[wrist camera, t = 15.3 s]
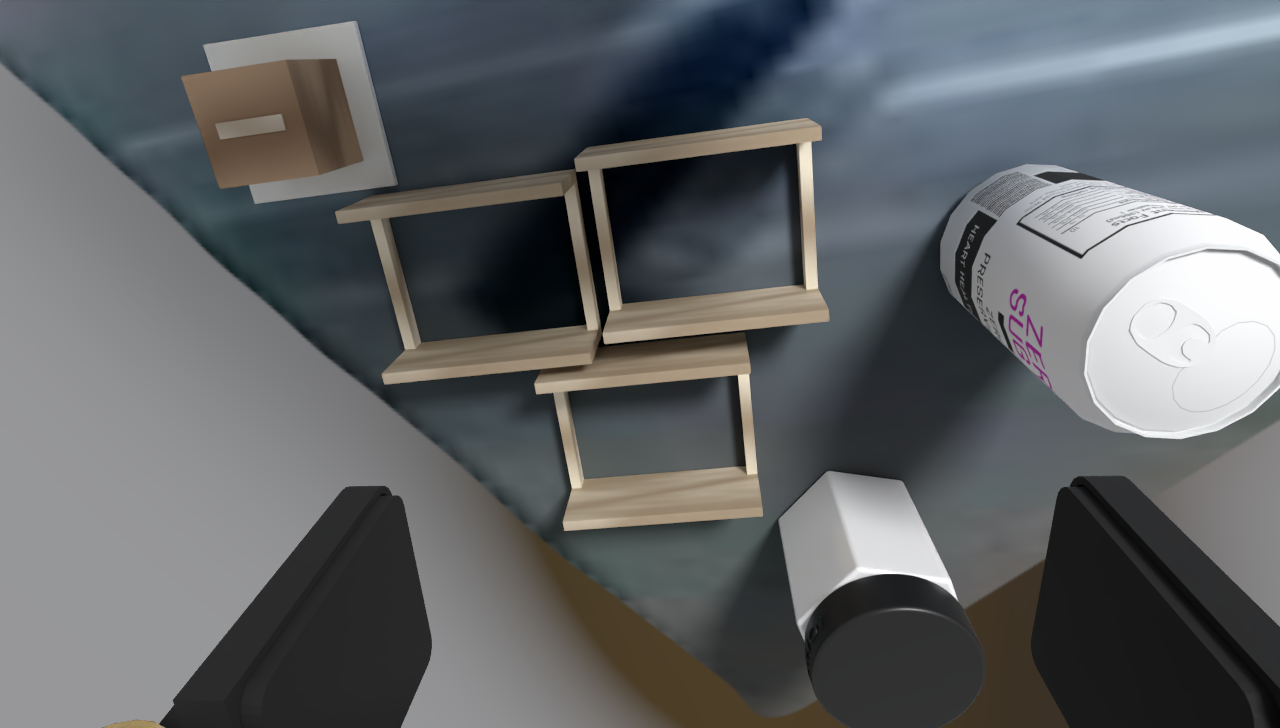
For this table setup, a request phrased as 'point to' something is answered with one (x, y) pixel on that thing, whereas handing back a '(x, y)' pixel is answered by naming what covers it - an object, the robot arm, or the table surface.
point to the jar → (877, 607)
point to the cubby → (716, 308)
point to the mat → (359, 91)
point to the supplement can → (1120, 298)
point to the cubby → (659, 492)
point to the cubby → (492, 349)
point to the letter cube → (274, 121)
